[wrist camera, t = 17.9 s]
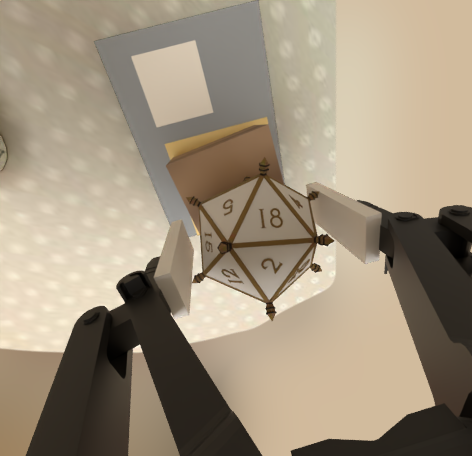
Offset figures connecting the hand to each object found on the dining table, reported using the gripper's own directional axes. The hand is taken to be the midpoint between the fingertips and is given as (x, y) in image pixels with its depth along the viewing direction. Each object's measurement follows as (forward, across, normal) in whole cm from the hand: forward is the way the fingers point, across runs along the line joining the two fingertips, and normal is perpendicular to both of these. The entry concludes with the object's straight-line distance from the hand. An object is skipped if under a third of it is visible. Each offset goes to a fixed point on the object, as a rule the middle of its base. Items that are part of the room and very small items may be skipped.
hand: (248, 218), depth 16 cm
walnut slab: (+12, 0, 0) cm, 12 cm away
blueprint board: (+14, -1, +5) cm, 15 cm away
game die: (+1, 0, 0) cm, 1 cm away
